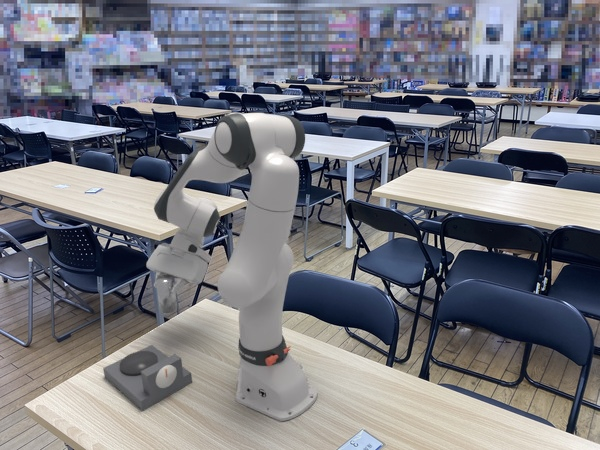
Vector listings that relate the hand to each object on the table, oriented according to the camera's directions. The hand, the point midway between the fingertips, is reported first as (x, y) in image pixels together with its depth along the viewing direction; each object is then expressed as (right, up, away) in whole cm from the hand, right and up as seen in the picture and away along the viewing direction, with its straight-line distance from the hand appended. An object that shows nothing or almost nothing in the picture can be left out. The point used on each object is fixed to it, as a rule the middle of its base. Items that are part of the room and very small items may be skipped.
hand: (164, 290), depth 139 cm
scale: (-2, -24, -8) cm, 25 cm away
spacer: (0, -6, +3) cm, 7 cm away
